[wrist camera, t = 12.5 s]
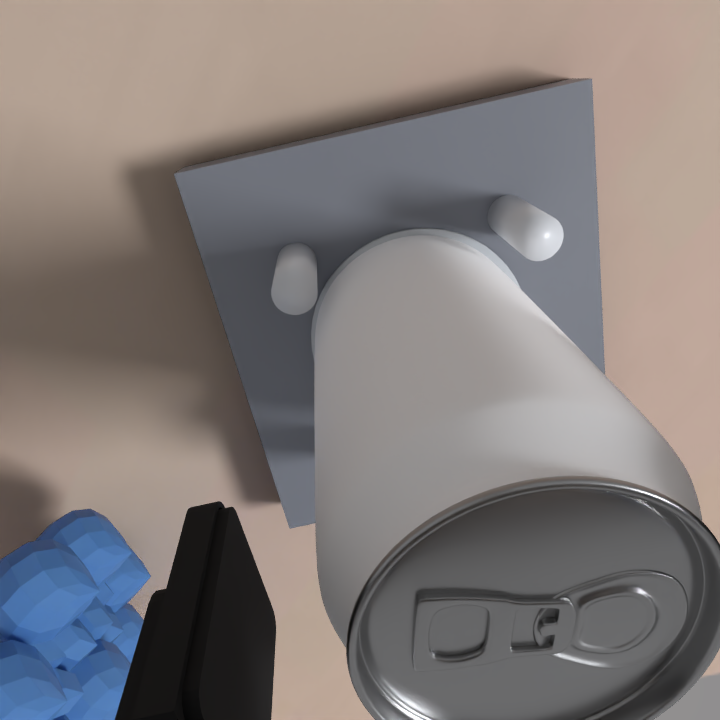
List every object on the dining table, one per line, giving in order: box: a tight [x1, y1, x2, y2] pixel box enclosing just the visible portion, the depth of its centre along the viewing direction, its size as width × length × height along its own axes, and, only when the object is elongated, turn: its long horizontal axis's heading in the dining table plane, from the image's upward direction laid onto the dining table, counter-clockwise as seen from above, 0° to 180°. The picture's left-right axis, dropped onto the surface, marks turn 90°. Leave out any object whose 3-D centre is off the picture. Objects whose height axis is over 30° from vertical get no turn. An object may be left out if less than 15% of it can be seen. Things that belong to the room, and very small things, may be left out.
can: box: [314, 235, 720, 720], centre depth 14 cm, size 6×6×12 cm
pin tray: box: [174, 79, 605, 528], centre depth 19 cm, size 13×12×4 cm
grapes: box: [0, 509, 151, 720], centre depth 19 cm, size 12×7×12 cm, turn 176°
